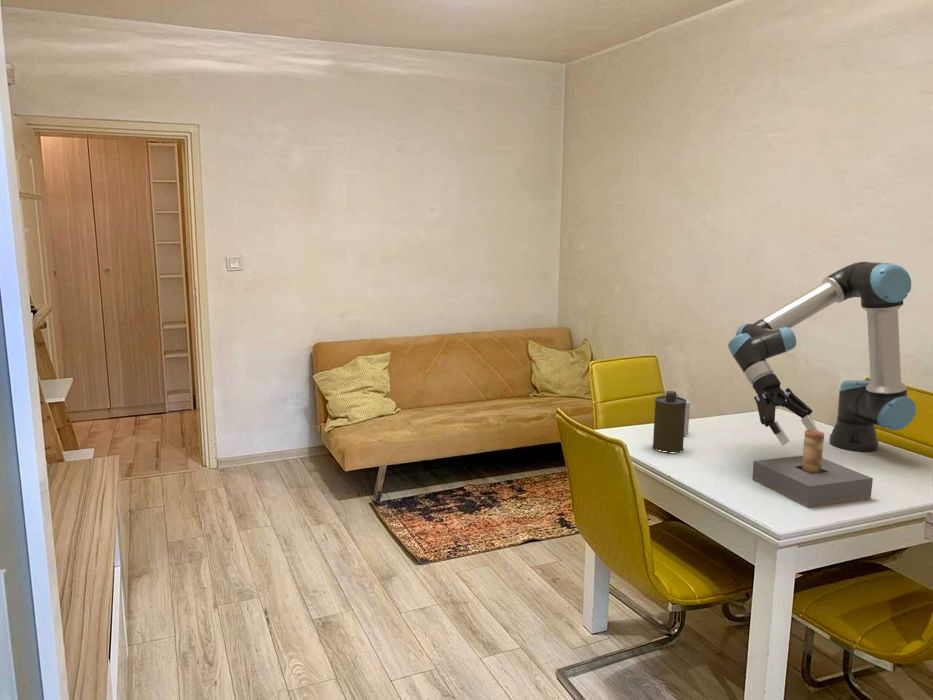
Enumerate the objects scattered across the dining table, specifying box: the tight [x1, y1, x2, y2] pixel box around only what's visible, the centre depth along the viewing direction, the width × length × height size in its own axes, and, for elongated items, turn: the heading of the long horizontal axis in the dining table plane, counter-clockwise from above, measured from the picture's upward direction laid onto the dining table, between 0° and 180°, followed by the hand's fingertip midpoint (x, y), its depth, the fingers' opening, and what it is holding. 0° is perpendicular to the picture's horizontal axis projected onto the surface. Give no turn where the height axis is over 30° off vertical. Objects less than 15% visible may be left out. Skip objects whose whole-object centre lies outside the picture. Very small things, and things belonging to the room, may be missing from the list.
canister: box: [651, 390, 688, 453], centre depth 241 cm, size 11×10×20 cm
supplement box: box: [684, 400, 691, 436], centre depth 260 cm, size 7×7×13 cm
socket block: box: [751, 455, 874, 508], centre depth 206 cm, size 22×22×6 cm
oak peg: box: [801, 429, 825, 474], centre depth 205 cm, size 5×5×16 cm
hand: (801, 439), depth 207 cm, fingers open, 13 cm apart
